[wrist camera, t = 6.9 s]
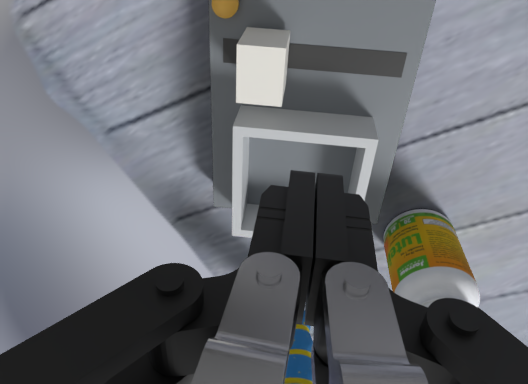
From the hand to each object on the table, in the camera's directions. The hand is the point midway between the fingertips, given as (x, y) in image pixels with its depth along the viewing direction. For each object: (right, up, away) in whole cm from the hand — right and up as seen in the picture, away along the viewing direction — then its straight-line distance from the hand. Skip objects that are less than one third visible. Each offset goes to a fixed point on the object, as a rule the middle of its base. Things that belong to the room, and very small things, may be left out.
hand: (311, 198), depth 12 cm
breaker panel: (+1, +6, +16) cm, 17 cm away
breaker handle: (-1, +8, +11) cm, 14 cm away
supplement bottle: (+11, -3, +21) cm, 24 cm away
